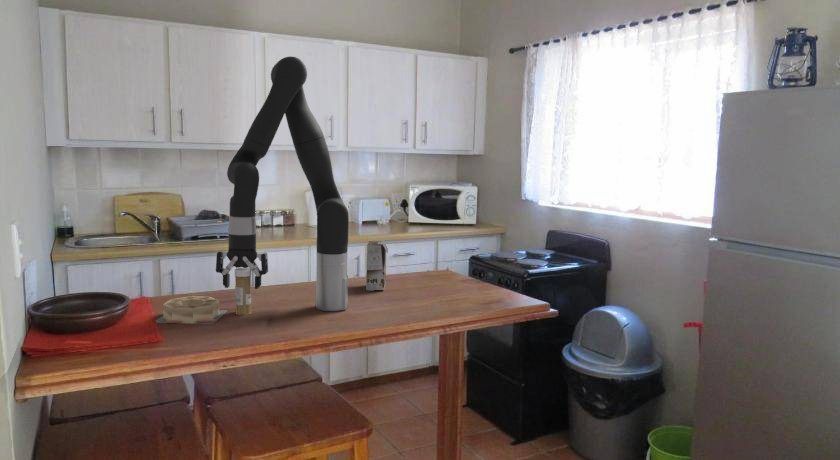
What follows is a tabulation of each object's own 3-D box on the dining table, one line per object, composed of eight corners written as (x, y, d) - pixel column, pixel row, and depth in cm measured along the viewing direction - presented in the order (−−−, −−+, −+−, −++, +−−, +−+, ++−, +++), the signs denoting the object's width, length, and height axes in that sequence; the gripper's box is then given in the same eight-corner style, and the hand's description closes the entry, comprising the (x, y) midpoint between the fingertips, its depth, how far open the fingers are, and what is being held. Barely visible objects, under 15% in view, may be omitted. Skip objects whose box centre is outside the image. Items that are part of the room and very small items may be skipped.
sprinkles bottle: (253, 315, 172) (253, 269, 170) (237, 317, 170) (237, 270, 168) (248, 311, 176) (248, 266, 174) (233, 313, 173) (232, 268, 172)
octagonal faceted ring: (223, 310, 174) (223, 297, 174) (208, 323, 161) (207, 309, 160) (176, 309, 174) (176, 295, 174) (157, 322, 161) (156, 308, 160)
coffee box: (384, 291, 207) (385, 245, 204) (365, 290, 207) (366, 244, 204) (386, 285, 216) (387, 241, 213) (368, 284, 216) (369, 240, 214)
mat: (228, 312, 175) (228, 310, 175) (212, 326, 161) (212, 324, 161) (172, 310, 174) (172, 308, 174) (152, 324, 160) (152, 322, 160)
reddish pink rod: (214, 321, 163) (214, 318, 163) (214, 322, 162) (214, 319, 162) (166, 322, 161) (166, 319, 161) (165, 323, 160) (165, 320, 160)
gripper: (270, 231, 174) (270, 286, 176) (221, 229, 174) (221, 284, 176) (264, 235, 166) (263, 292, 168) (212, 232, 166) (212, 289, 168)
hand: (242, 287), depth 172 cm, fingers open, 8 cm apart
